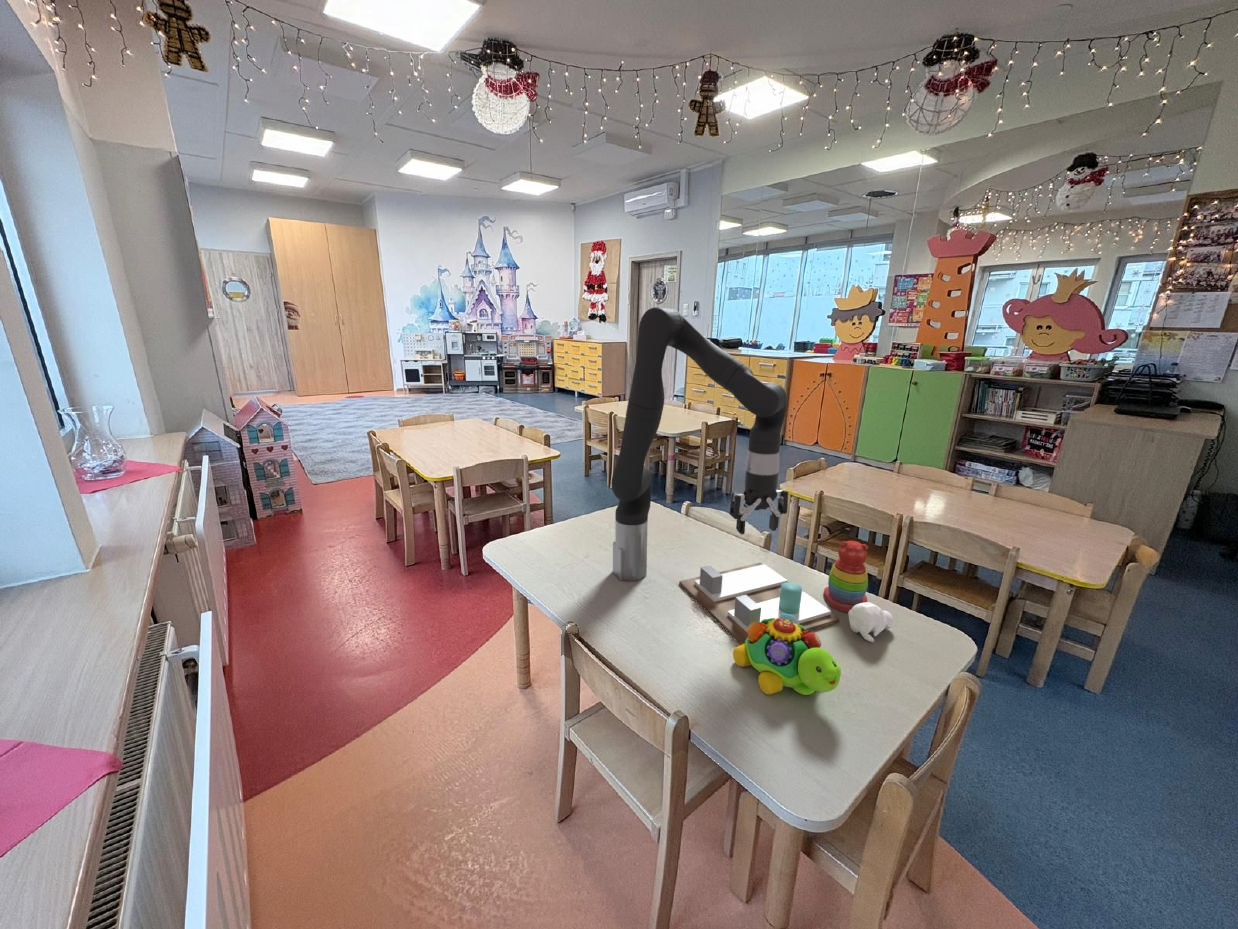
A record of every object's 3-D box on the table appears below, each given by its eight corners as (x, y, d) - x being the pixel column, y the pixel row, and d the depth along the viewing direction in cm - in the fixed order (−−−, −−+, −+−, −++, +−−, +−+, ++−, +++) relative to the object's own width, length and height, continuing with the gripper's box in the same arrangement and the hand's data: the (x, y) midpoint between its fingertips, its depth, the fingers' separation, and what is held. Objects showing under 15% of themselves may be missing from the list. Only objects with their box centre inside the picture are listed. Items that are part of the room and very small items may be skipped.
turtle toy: (795, 730, 93) (802, 678, 89) (722, 654, 113) (726, 609, 110) (862, 703, 99) (871, 653, 96) (782, 635, 120) (787, 592, 116)
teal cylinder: (787, 616, 123) (790, 594, 121) (774, 605, 128) (776, 584, 126) (803, 611, 125) (806, 590, 123) (790, 601, 130) (792, 580, 128)
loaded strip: (752, 637, 117) (754, 615, 115) (727, 614, 125) (729, 593, 124) (830, 614, 126) (833, 593, 124) (802, 594, 134) (804, 574, 133)
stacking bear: (866, 598, 135) (877, 537, 130) (867, 618, 126) (878, 554, 121) (824, 588, 139) (832, 530, 134) (821, 607, 131) (830, 545, 125)
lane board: (746, 650, 114) (746, 646, 114) (679, 584, 141) (679, 581, 141) (839, 622, 125) (839, 618, 124) (759, 565, 152) (760, 562, 152)
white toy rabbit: (848, 599, 119) (882, 591, 124) (841, 631, 121) (874, 622, 126) (872, 613, 113) (906, 604, 119) (864, 646, 115) (897, 636, 121)
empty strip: (714, 602, 131) (715, 581, 129) (694, 583, 140) (695, 564, 138) (787, 583, 140) (789, 564, 138) (764, 567, 148) (765, 548, 147)
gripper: (742, 476, 114) (737, 541, 118) (797, 471, 117) (791, 534, 122) (727, 466, 121) (723, 528, 125) (780, 462, 124) (774, 522, 129)
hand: (756, 531), depth 124 cm, fingers open, 8 cm apart
